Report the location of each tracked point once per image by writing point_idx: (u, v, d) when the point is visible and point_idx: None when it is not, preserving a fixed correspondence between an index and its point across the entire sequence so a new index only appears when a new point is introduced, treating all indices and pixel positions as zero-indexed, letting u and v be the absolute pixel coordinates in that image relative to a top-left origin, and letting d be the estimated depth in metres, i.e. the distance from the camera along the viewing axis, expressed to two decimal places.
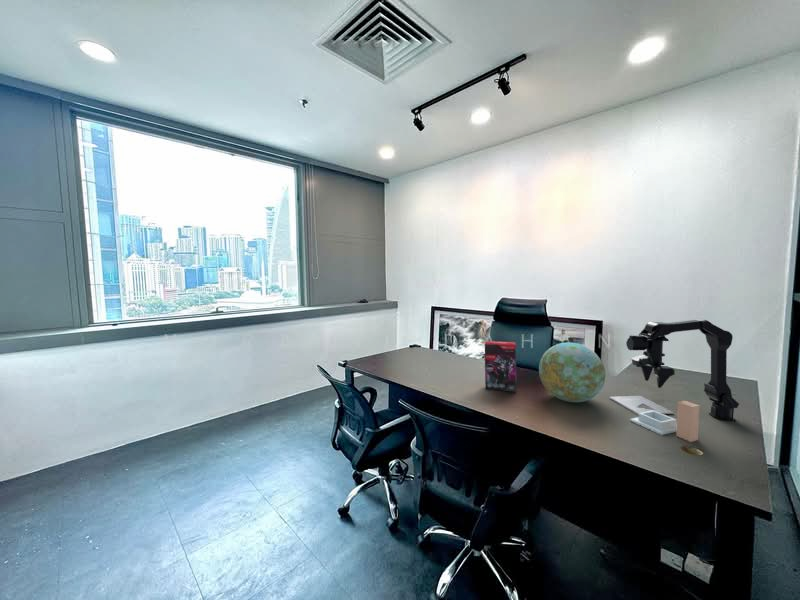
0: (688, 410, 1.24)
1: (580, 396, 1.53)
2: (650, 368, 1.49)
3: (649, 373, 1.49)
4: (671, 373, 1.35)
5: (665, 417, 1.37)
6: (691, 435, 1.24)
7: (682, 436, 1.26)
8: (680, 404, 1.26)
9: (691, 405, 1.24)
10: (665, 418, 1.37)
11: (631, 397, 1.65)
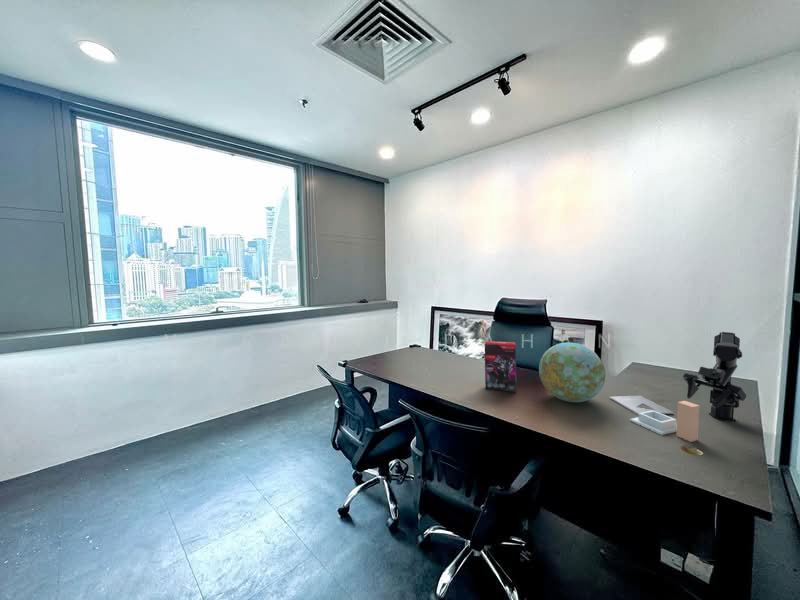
0: (688, 410, 1.24)
1: (580, 396, 1.53)
2: (696, 389, 1.34)
3: (693, 393, 1.33)
4: (743, 397, 1.20)
5: (665, 417, 1.37)
6: (691, 435, 1.24)
7: (682, 436, 1.26)
8: (680, 404, 1.26)
9: (691, 405, 1.24)
10: (665, 418, 1.37)
11: (631, 397, 1.65)
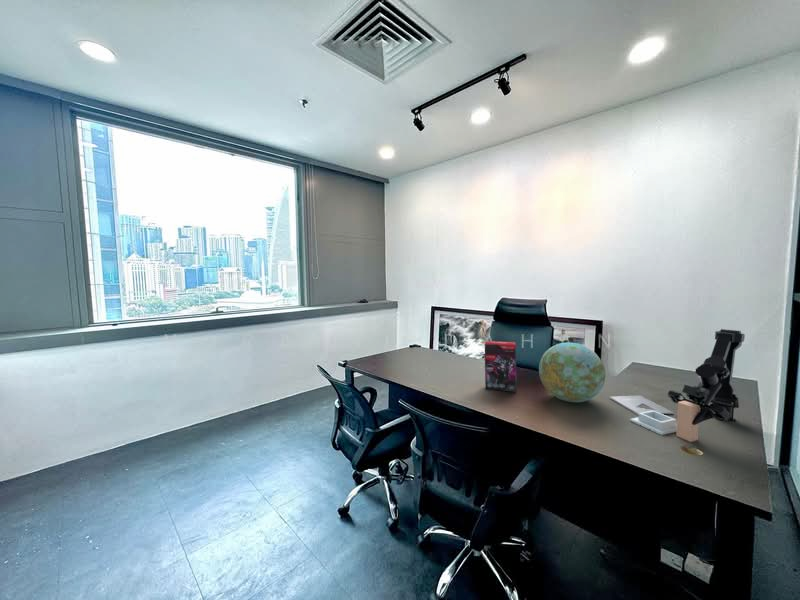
0: (688, 410, 1.24)
1: (580, 396, 1.53)
2: None
3: None
4: (727, 417, 1.18)
5: (665, 417, 1.37)
6: (691, 435, 1.24)
7: (682, 436, 1.26)
8: (680, 404, 1.26)
9: (691, 405, 1.24)
10: (665, 418, 1.37)
11: (631, 397, 1.65)
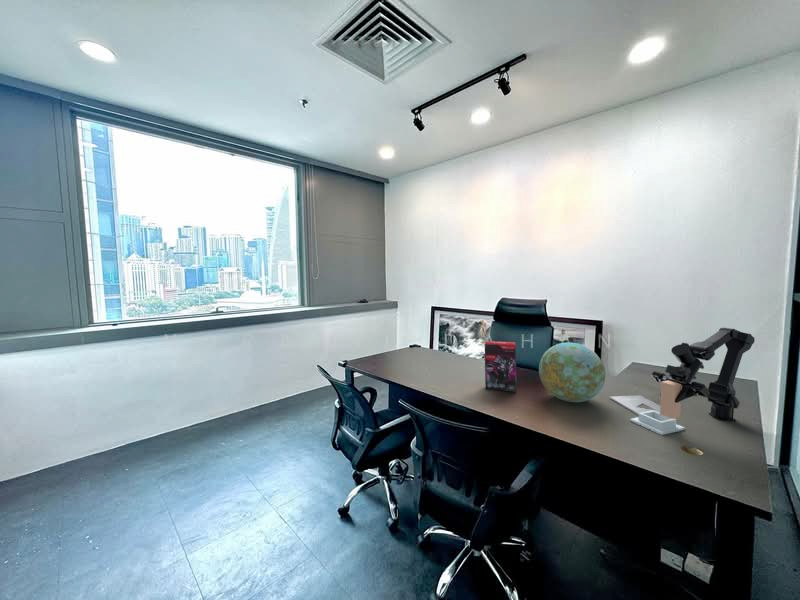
0: (671, 388, 1.29)
1: (580, 396, 1.53)
2: None
3: None
4: (707, 394, 1.24)
5: (665, 417, 1.37)
6: (674, 413, 1.29)
7: (665, 414, 1.32)
8: (663, 383, 1.32)
9: (674, 384, 1.29)
10: (665, 418, 1.37)
11: (631, 397, 1.65)
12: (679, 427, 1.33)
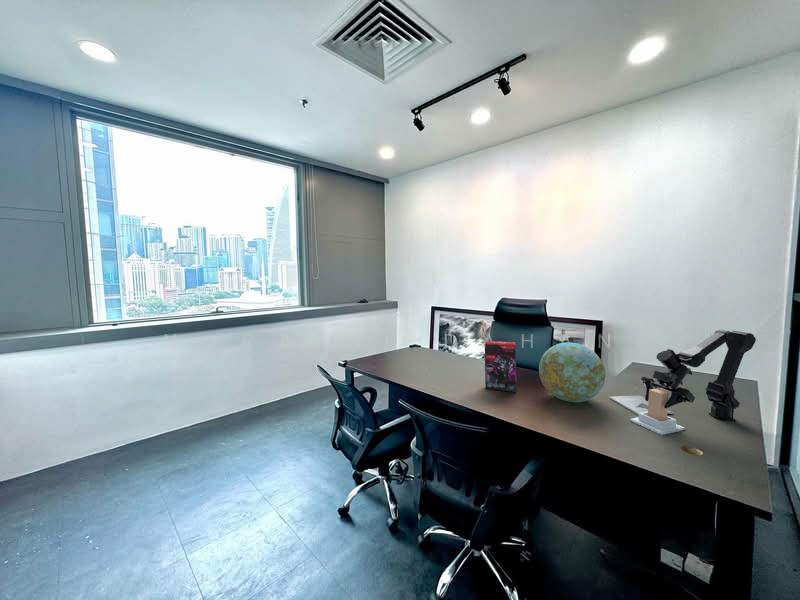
0: (658, 396, 1.34)
1: (580, 396, 1.53)
2: None
3: None
4: (692, 399, 1.29)
5: None
6: (660, 420, 1.34)
7: None
8: (651, 391, 1.37)
9: (661, 392, 1.34)
10: None
11: (631, 397, 1.65)
12: (679, 427, 1.33)
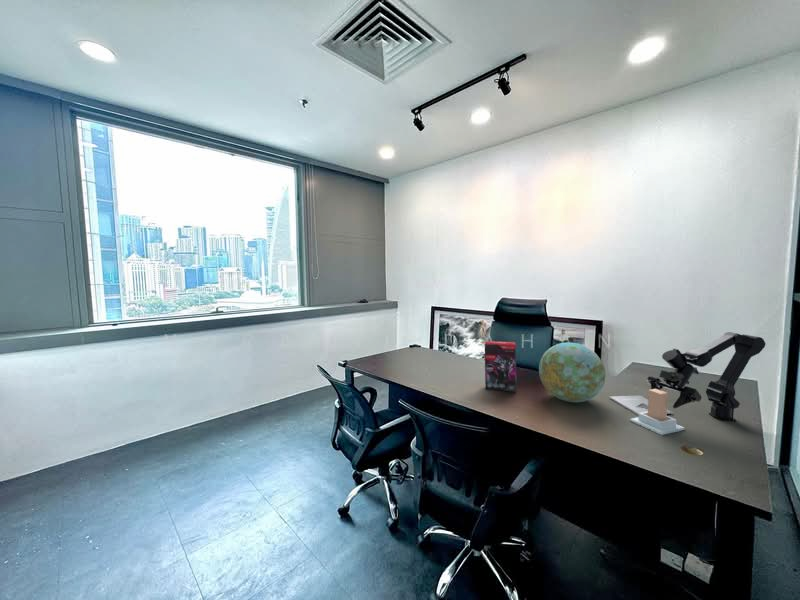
0: (657, 397, 1.34)
1: (580, 396, 1.53)
2: None
3: None
4: (699, 398, 1.30)
5: None
6: (660, 420, 1.34)
7: None
8: (650, 392, 1.37)
9: (660, 392, 1.34)
10: None
11: (631, 397, 1.65)
12: (679, 427, 1.33)
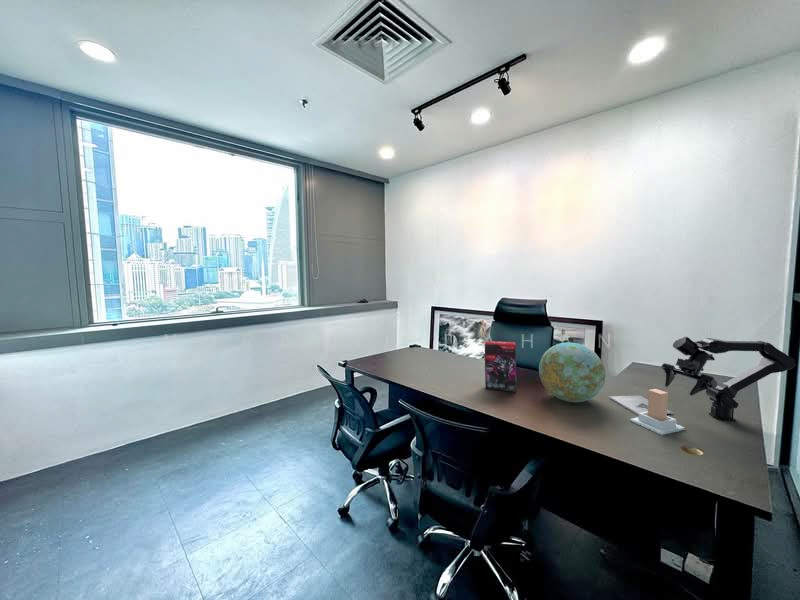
0: (657, 397, 1.34)
1: (580, 396, 1.53)
2: (672, 378, 1.46)
3: (670, 381, 1.45)
4: (715, 385, 1.33)
5: None
6: (660, 420, 1.34)
7: None
8: (650, 392, 1.37)
9: (660, 392, 1.34)
10: None
11: (631, 397, 1.65)
12: (679, 427, 1.33)
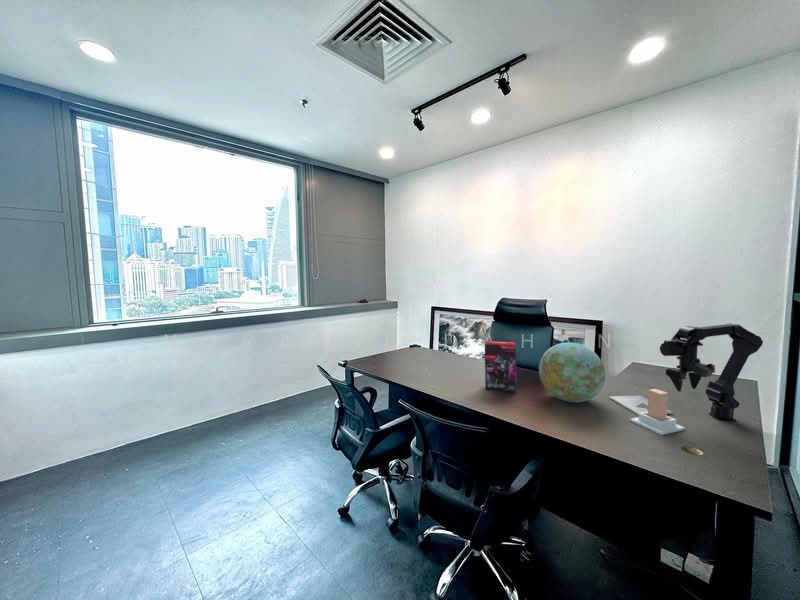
0: (657, 397, 1.34)
1: (580, 396, 1.53)
2: None
3: None
4: None
5: None
6: (660, 420, 1.34)
7: None
8: (650, 392, 1.37)
9: (660, 392, 1.34)
10: None
11: (631, 397, 1.65)
12: (679, 427, 1.33)
